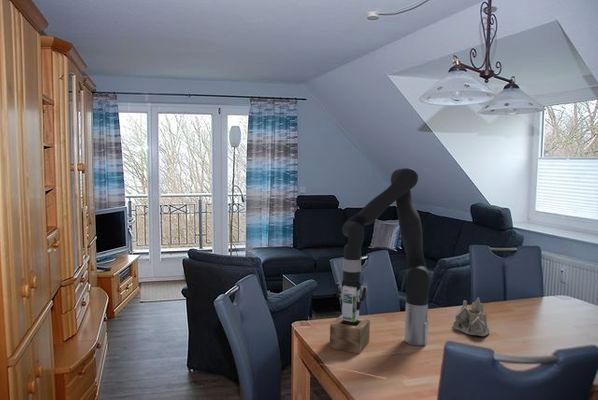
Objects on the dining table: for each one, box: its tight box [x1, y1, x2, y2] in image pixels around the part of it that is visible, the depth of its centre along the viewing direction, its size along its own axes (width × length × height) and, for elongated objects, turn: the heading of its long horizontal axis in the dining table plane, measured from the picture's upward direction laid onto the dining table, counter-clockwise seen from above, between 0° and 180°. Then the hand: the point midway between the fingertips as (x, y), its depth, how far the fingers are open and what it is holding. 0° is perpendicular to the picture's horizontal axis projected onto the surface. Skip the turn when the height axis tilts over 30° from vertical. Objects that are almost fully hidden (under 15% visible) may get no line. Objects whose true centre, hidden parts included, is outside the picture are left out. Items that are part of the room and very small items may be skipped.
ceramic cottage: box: [452, 297, 490, 337], centre depth 208 cm, size 16×16×15 cm
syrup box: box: [341, 285, 361, 322], centre depth 189 cm, size 6×6×14 cm
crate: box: [329, 314, 371, 355], centre depth 189 cm, size 13×13×10 cm
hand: (350, 308), depth 189 cm, fingers closed on syrup box, 5 cm apart
